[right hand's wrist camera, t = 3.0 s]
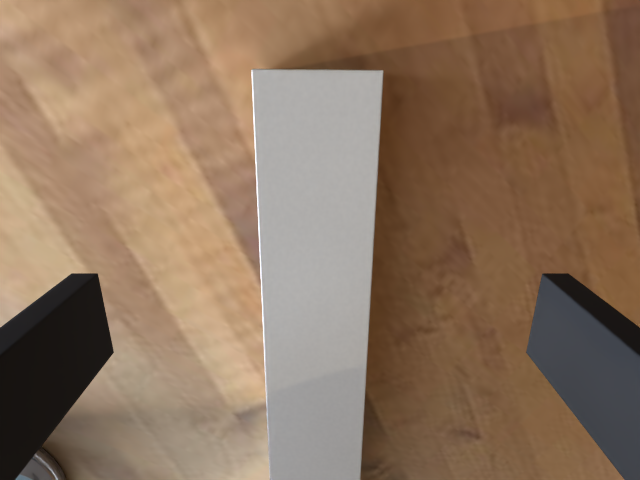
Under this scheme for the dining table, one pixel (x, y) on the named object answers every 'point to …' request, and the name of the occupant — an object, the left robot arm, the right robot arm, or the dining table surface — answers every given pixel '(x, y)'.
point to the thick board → (316, 261)
